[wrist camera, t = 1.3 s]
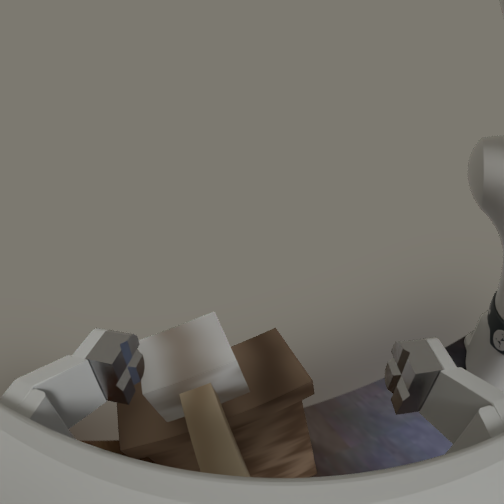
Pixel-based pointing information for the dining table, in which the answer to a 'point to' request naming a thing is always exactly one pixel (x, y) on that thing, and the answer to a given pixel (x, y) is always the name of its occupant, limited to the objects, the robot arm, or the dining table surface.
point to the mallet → (196, 388)
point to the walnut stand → (237, 417)
